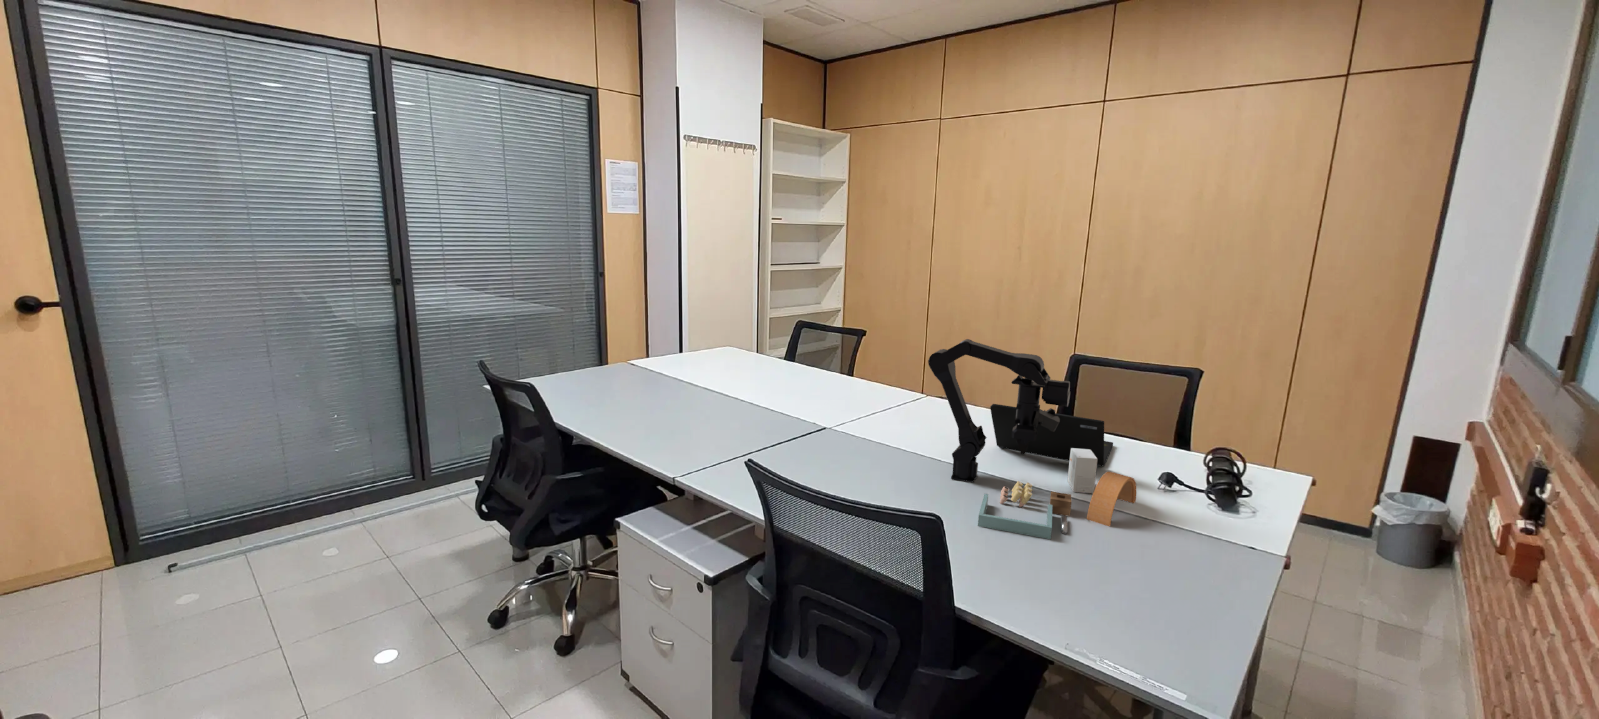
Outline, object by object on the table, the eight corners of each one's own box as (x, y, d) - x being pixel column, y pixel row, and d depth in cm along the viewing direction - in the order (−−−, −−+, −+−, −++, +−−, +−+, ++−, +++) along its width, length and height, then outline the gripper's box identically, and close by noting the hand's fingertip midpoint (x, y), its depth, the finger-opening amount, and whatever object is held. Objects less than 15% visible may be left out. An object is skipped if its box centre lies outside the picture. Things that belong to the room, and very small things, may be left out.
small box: (1093, 494, 178) (1098, 459, 176) (1072, 492, 179) (1076, 457, 177) (1087, 482, 186) (1091, 449, 183) (1066, 481, 187) (1070, 447, 184)
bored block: (1049, 512, 166) (1050, 498, 165) (1049, 505, 171) (1051, 491, 170) (1069, 516, 164) (1071, 502, 163) (1069, 508, 169) (1071, 494, 168)
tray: (977, 525, 158) (978, 514, 158) (983, 504, 171) (984, 493, 170) (1050, 539, 152) (1051, 527, 152) (1051, 515, 165) (1052, 504, 164)
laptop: (1113, 447, 216) (1120, 392, 212) (1097, 484, 185) (1105, 421, 181) (1014, 429, 234) (1019, 378, 229) (983, 460, 203) (988, 402, 198)
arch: (1085, 519, 163) (1090, 483, 161) (1114, 496, 177) (1118, 462, 175) (1109, 527, 159) (1114, 490, 157) (1136, 503, 173) (1141, 468, 171)
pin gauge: (1060, 533, 155) (1061, 528, 155) (1060, 519, 162) (1061, 514, 162) (1067, 534, 155) (1067, 529, 154) (1066, 520, 162) (1067, 515, 162)
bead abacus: (1032, 482, 174) (1002, 478, 176) (1032, 493, 167) (1000, 488, 170) (1031, 498, 175) (1000, 494, 178) (1030, 510, 168) (999, 505, 171)
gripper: (1059, 413, 164) (1053, 470, 167) (1059, 395, 181) (1053, 447, 184) (1014, 408, 168) (1009, 463, 171) (1018, 391, 185) (1013, 442, 188)
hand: (1022, 454), depth 179 cm, fingers closed
